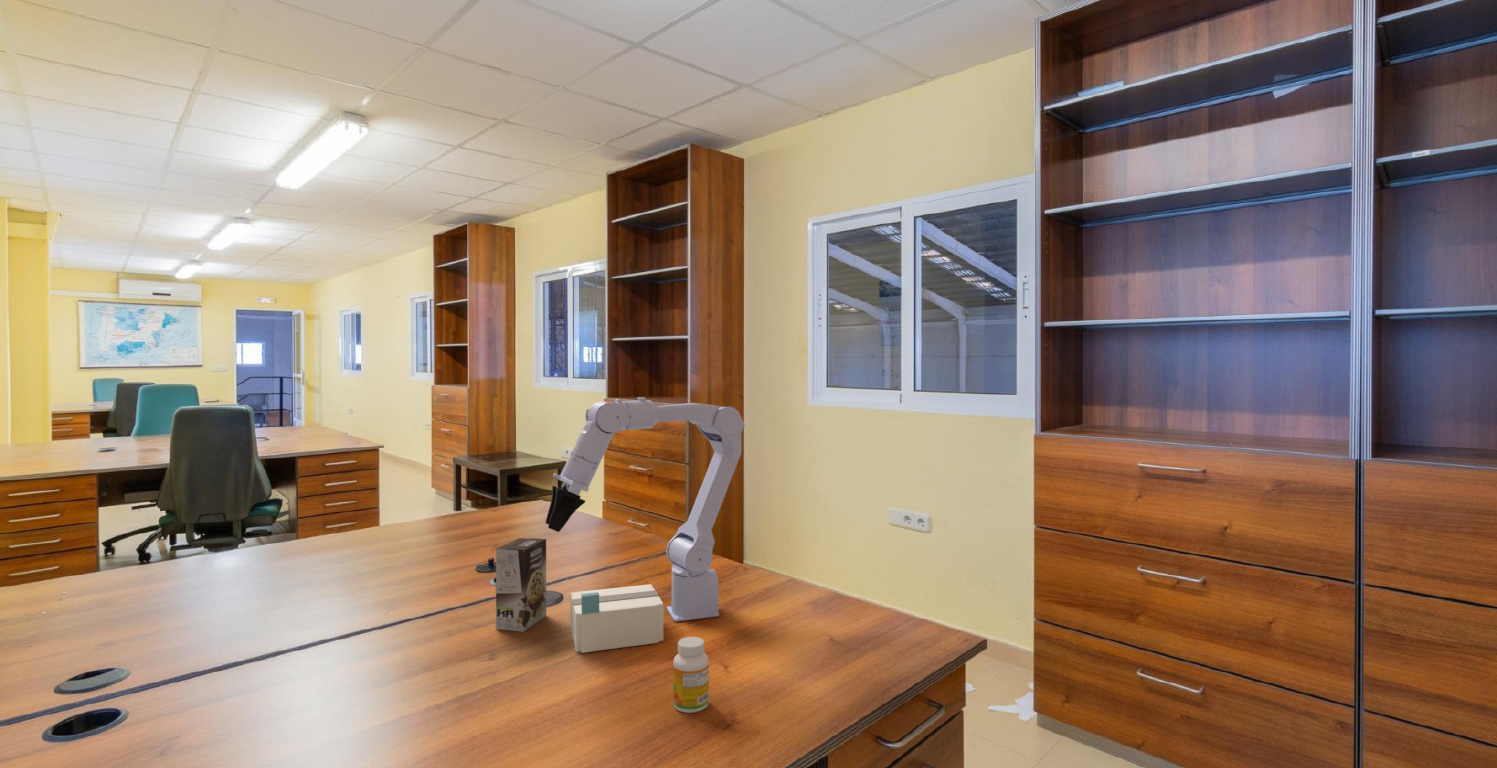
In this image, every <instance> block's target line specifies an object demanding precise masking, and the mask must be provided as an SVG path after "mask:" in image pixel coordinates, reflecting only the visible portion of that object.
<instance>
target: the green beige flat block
mask: <svg viewBox="0 0 1497 768" xmlns="http://www.w3.org/2000/svg"><path fill="white" fill-rule="evenodd" d="M580 639H581V652H580V653H589V652H598V651H604V650H611V649H612V650H614V649H619V648H620V649H621V648H628V647H635V646H642V645H643V646H644V645H651V644H657V643H659V641H658V604H657V603H656V604H648V605H639V606H630V607H621V608H613V609H604V610H599V593H598V592H596V593H587V594H581V612H580Z"/></svg>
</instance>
